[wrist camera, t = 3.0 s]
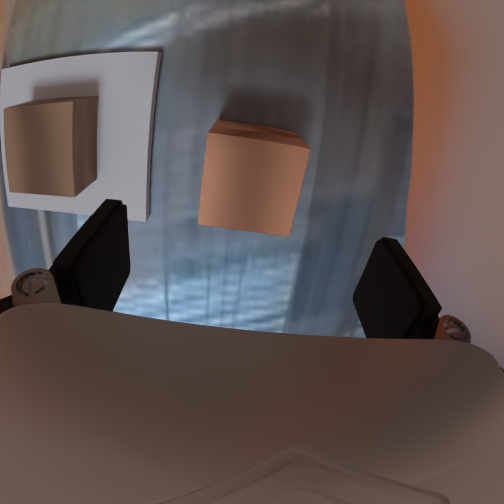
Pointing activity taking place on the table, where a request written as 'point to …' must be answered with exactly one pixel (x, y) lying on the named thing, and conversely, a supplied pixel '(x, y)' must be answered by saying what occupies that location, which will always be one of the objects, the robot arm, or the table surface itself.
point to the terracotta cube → (252, 177)
